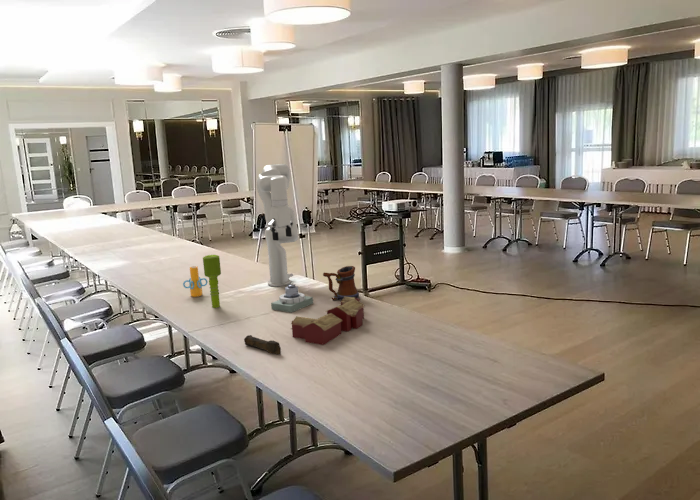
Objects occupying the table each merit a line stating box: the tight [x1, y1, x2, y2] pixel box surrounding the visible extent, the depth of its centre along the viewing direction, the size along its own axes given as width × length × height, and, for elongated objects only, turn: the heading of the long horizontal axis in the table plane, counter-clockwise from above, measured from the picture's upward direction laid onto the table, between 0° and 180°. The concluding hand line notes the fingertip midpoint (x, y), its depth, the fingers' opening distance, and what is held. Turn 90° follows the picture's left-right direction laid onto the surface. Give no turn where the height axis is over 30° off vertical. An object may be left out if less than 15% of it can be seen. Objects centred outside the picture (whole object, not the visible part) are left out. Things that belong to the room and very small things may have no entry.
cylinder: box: [182, 265, 209, 298], centre depth 298 cm, size 12×10×15 cm
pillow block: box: [270, 292, 314, 313], centre depth 271 cm, size 16×12×5 cm
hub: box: [284, 283, 299, 298], centre depth 270 cm, size 6×6×7 cm
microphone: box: [202, 254, 222, 309], centre depth 275 cm, size 8×8×25 cm
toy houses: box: [290, 297, 366, 346], centre depth 241 cm, size 45×20×10 cm, turn 150°
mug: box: [322, 265, 360, 301], centre depth 278 cm, size 18×12×15 cm, turn 122°
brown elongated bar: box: [243, 334, 282, 355], centre depth 217 cm, size 19×4×5 cm, turn 45°
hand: (282, 238), depth 280 cm, fingers open, 9 cm apart
